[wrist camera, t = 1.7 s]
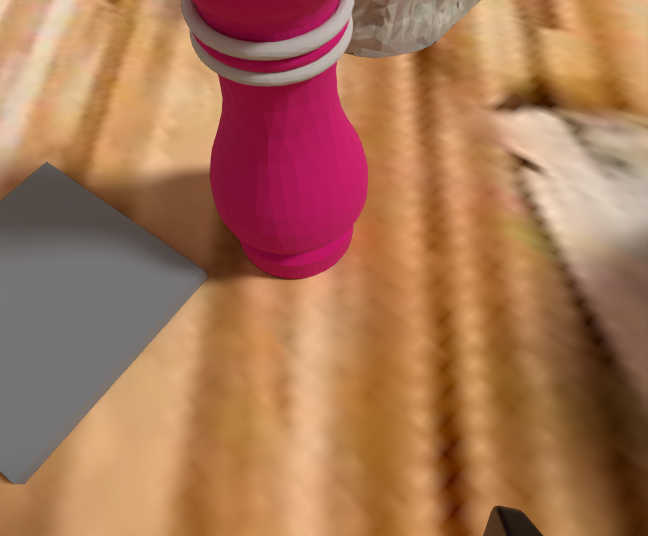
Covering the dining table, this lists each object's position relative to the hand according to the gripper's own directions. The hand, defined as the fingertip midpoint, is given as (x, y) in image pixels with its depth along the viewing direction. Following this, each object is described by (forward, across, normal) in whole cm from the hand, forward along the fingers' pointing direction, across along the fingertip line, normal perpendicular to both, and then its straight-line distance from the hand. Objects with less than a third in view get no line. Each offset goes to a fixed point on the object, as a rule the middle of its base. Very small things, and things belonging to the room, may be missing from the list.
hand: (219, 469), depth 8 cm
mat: (+14, +14, +6) cm, 20 cm away
